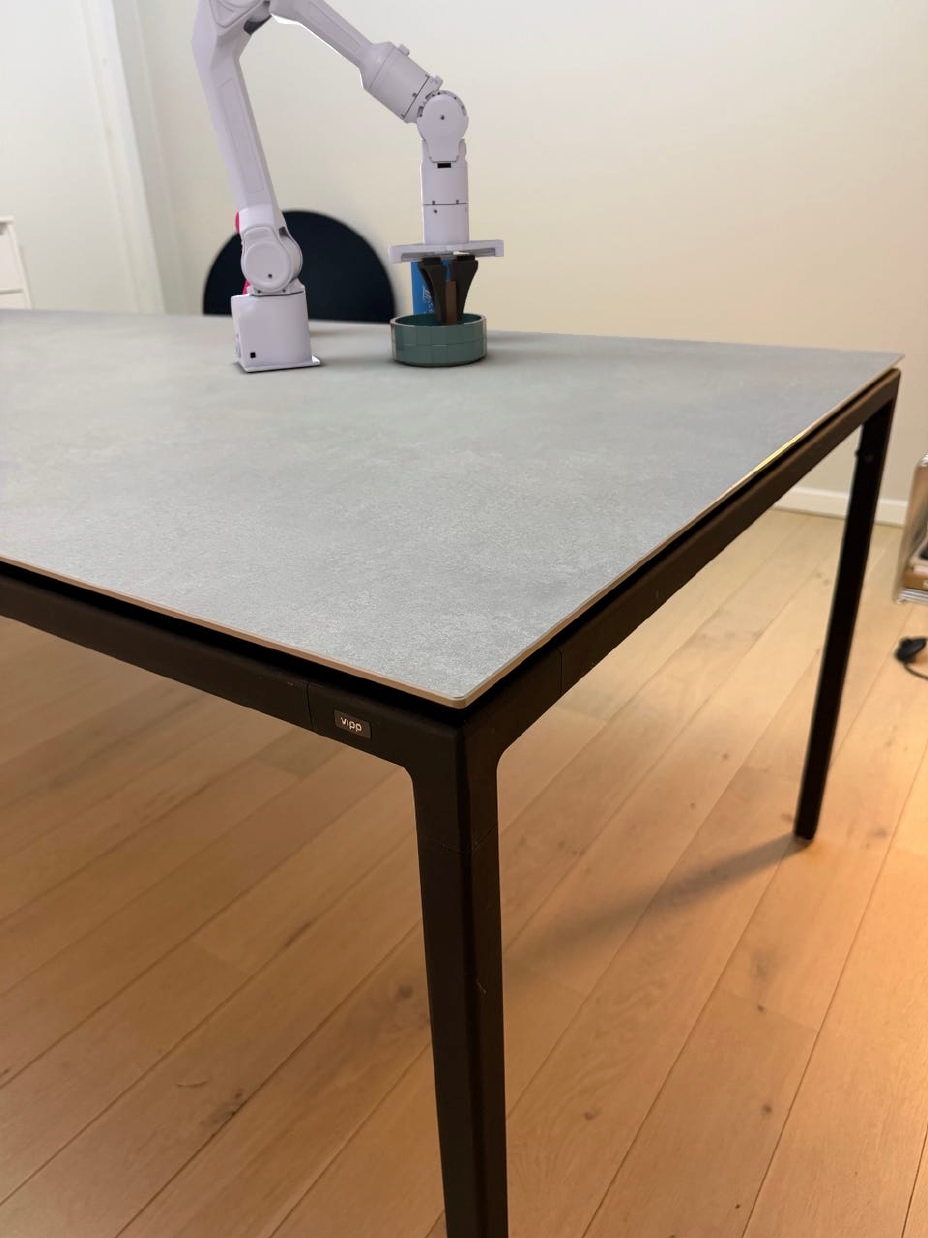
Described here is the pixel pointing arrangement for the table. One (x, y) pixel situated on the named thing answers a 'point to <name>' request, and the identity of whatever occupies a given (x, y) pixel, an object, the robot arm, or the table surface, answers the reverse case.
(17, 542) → the table surface
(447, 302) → the stirring stick
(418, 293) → the beverage can
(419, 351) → the bowl
